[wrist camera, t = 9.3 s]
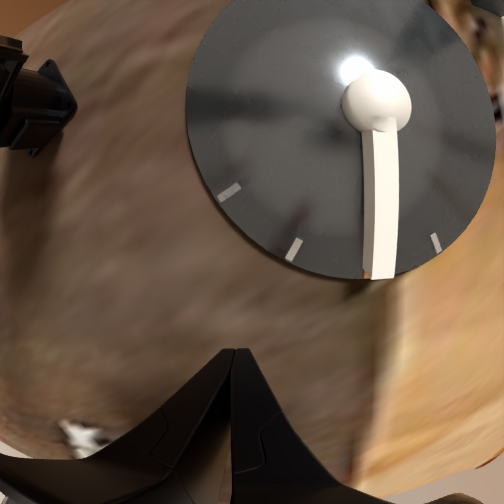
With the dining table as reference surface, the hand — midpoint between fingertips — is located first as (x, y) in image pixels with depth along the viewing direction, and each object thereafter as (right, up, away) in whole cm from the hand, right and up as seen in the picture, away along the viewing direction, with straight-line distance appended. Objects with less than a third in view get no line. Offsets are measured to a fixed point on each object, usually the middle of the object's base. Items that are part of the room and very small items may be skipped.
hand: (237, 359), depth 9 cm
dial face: (+8, +13, +8) cm, 17 cm away
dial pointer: (+8, +9, +9) cm, 15 cm away
